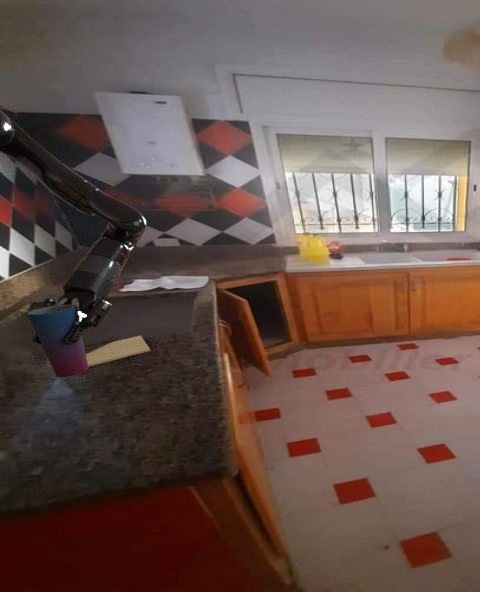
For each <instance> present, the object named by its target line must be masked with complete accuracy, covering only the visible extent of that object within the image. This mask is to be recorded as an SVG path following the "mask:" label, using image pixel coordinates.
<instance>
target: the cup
mask: <svg viewBox="0 0 480 592" xmlns="http://www.w3.org/2000/svg"><path fill="white" fill-rule="evenodd" d="M58 308H60V309H59V311H58V312H54V311H55V310H57V309H58ZM75 311H76V310H75V306H74V305H56V306H49V307H44V308H41V307H40V308H35V309H32V310H29V311H28V312H26V315H27V317H28V320H29V321H30V323H31V325H32V328H33V329H34V331H35V334H37V336H38V338H39V340H40V342H41V344H40V345H41V347H42V348H43V351H44V353H45V355H46V357H47V359H48V362H50V366H51V368H52V369H53V372H54V374H55V376H56V377H57V378H67V377H71V376H76V375H79V374H82V373H83V372H86V371H88V370H89V368H90V367H88V362H87V358H86V353H87V352H86V350H85V349H86V348H85V345H84V340H83V336H81V337H80V339H79V341H78V342H76V344H75V345H69V344H66V343H63V341H62V340H63V338H64V337H65V335H66V334H67V332H68V331H69V330H70V328H71V327H72V326H75V325H73V323H74V321H75V318H76V316H75Z"/></svg>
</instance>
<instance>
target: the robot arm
mask: <svg viewBox="0 0 480 592" xmlns="http://www.w3.org/2000/svg"><path fill="white" fill-rule="evenodd" d="M1 153H2V154H3V155H5V156H7V157H8V158H10V159H12V160H14V161H15V162H17V163H18V164H19V165H21V166H22V167H23V168H25V169H26V170H28V172H30V173H31V174H32V175H33V176H34V178H36V179H37V180H38V181H39V182H40V184H41V185H43V186H44V187H45V188H46V189H47V190H48V191H49V192H50V193H52V194H54V196H56V197H57V198H59V199H60V200H62V201H63V202H65V203H66V204H68V205H69V206H70V207H73V209H75V210H77V211H78V212H80V213H81V214H84V215H86V216H90V217H92V216H98V217H100V218H101V219H104V220H105V221H106V222H108V223H107V225H106V227H105V229H104V230H103V232H102V234H101V235H100V237H99V238H98V239H97V240H96V241H94V242H93V243H92V245H91V246H90V248H89V250H88V251H87V252H86V254H85V256H83V257H82V259H81V260H80V261H79V262H78V263H77V265H76V266H75V267H74V269H73V271H72V272H71V274H70V275H69V277H68V278H67V279H66V281H65V282H64V284H63V285H62V290H63V292H64V293H63V295H62V296H61V297H59V298H58V299H55V300H53V299H51V298H46V299H44V300H43V302H42V304H41V306H40V308H44V307H49V306H56V305H74V306H75V310H76V311H75V316H76V318H75V321H74V323H73V325H75V326H72V327H71V328H70V330H69V331H68V332H67V334H66V335H65V337H64V338H63V340H62V341H63V343H66V344H69V345H75V344H76V342H78V341H79V339H80V337H81V336H82V335H84V332H85V330H88V329H90V328H91V327H93V328H97V327H98V326H99V325H100V323H101V322H102V321H103V319H104V318H105V317H106V315H107V314H108V312H109V311H110V310H111V308H112V306H113V304H112V303H110V302H108V301H106V300H107V298H108V296H109V295H110V293H111V291H112V290H113V287H114V286H115V285H116V283H117V282H118V280H119V278H120V275H121V273H122V271H123V268H124V267H125V264H126V263H127V261H128V260H129V257H130V255H131V253H132V251H133V249H134V248H135V247H136V245H137V244H138V243H139V241H140V240H141V238H142V236H143V234H144V232H145V230H146V228H147V225H148V224H147V219H146V218H145V216H144V215H143V214H142V213H141V212H140V211H139V210H137V209H136V208H134V207H133V206H131V205H129V204H127V203H125V202H123V201H121V200H119V199H117V198H114V197H113V196H110V195H108V194H106V193H105V192H103V191H102V189H101V190H100V189H99V188H98V187H97V186H96V185H94V184H93V183H91V182H90V181H88V180H87V179H85V178H84V177H82V176H81V175H80V174H78V173H77V172H76V171H74V170H72V169H71V168H70V167H69V166H67V165H65V164H64V163H63V162H62V161H61V160H59V159H58V158H57V157H55V156H53V154H51V153H50V152H49V151H48V150H47V149H45V148H44V147H43V146H42V145H40V144H39V143H38V142H37V141H36V140H35V139H34V138H33V137H31V136H30V135H29V134H28V133H27V132H26V131H24V130H23V128H21V126H19V125H18V124H17V123H16V122H15V121H14V120H13V119H12V118H10V117H9V116H8V115H7V114H6V113H4V112H3V111H2V110H0V154H1ZM59 309H60V308H58V309H57V310H55V311H54V312H58V311H59ZM95 316H96V317H95ZM94 317H95V318H94ZM82 337H83V336H82ZM32 342H33V343H35V344H38V345H42V344H41V342H40V340H39V338H38V336H37V334H36V333H35V334H34V335H33V338H32Z"/></svg>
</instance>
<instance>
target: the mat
mask: <svg viewBox="0 0 480 592" xmlns="http://www.w3.org/2000/svg"><path fill="white" fill-rule="evenodd" d="M149 352H151V348H150V347H149V346H148V344H147V342H145V340H144V338H143V337H142V335H137V336H133V337H128V338H124V339H120V340H115V341H110V342H108V343H106V344H104V345H102V346H99V347H97V348H95V349H93V350H91V351H88V352H85V353H86V358H87V362H88V367H89V368H90V367H93V366H97V365H102V364H105V363H109V362H113V361H117V360H120V359H124V358H128V356H129V357H132V355H133V356H136V354H137V355H140V354H144V353H149Z"/></svg>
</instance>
